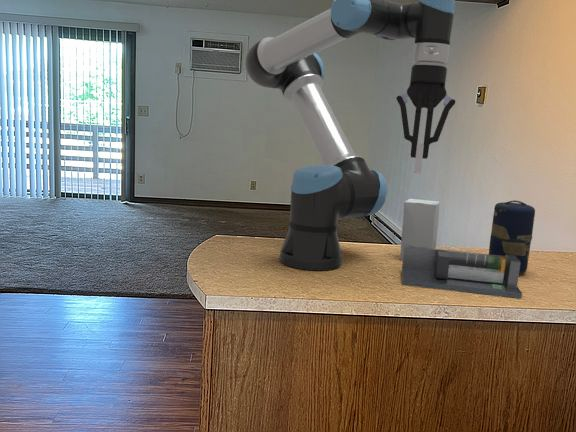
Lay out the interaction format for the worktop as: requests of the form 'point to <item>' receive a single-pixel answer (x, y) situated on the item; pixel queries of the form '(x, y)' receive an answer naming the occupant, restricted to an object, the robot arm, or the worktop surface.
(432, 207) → the skincare box
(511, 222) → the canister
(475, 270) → the capped sliding bar
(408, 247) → the rail
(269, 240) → the worktop surface
